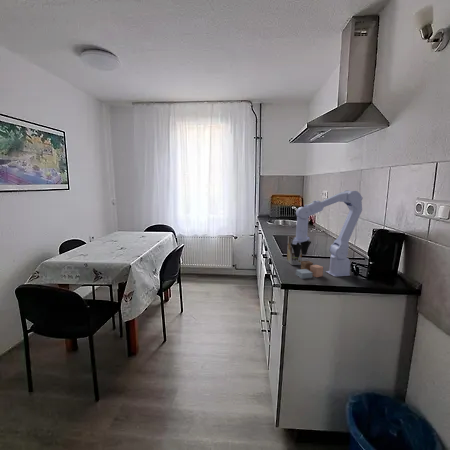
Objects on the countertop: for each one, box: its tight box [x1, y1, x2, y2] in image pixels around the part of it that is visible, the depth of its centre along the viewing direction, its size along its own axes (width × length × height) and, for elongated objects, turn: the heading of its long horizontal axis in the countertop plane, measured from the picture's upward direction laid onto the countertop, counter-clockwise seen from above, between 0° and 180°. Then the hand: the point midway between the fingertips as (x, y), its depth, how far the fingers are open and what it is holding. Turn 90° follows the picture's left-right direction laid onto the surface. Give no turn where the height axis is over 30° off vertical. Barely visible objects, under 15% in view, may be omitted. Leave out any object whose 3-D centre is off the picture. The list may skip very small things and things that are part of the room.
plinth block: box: [295, 268, 313, 279], centre depth 137 cm, size 6×6×3 cm
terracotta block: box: [310, 264, 324, 278], centre depth 138 cm, size 4×4×5 cm
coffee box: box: [286, 234, 303, 266], centre depth 160 cm, size 9×6×16 cm
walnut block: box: [300, 260, 314, 271], centre depth 146 cm, size 4×4×5 cm
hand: (300, 255), depth 140 cm, fingers open, 7 cm apart
